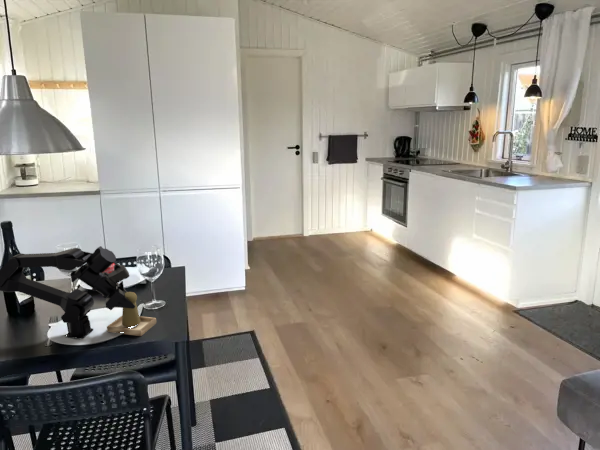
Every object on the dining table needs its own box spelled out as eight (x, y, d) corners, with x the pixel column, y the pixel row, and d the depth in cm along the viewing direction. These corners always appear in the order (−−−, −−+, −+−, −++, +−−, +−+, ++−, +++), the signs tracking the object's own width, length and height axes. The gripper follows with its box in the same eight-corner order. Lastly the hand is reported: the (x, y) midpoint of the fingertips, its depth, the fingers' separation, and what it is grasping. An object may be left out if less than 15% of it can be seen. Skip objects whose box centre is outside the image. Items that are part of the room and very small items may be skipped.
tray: (107, 331, 154) (106, 326, 154) (124, 319, 163) (123, 314, 163) (141, 336, 151) (140, 330, 151) (156, 323, 160) (156, 317, 160)
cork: (122, 319, 158) (119, 291, 155) (140, 317, 160) (137, 288, 157) (121, 327, 153) (118, 298, 150) (140, 325, 155) (138, 295, 152)
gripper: (113, 269, 141) (152, 296, 148) (111, 252, 157) (147, 277, 164) (88, 296, 140) (129, 322, 147) (89, 276, 156) (126, 300, 163)
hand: (133, 304), depth 155 cm, fingers closed on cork, 5 cm apart
